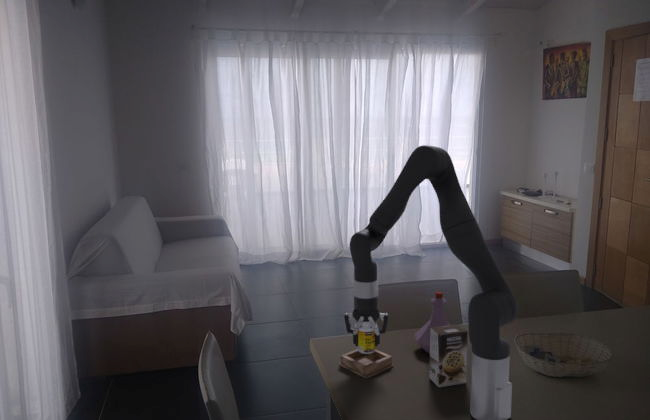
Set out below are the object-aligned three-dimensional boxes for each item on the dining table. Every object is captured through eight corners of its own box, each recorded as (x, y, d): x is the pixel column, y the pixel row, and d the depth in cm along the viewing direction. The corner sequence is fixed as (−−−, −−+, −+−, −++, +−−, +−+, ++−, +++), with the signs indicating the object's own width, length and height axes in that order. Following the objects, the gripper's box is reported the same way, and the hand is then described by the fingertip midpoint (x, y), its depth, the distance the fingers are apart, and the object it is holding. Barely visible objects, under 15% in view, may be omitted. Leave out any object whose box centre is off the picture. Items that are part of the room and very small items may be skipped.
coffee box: (438, 388, 147) (439, 335, 144) (428, 377, 153) (429, 326, 150) (467, 383, 149) (468, 331, 146) (455, 373, 155) (457, 323, 152)
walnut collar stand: (393, 366, 160) (393, 356, 160) (366, 378, 153) (366, 368, 152) (366, 354, 170) (366, 344, 169) (339, 365, 162) (339, 355, 161)
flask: (473, 355, 167) (475, 296, 164) (430, 364, 161) (431, 304, 158) (444, 336, 182) (445, 282, 179) (404, 344, 176) (404, 288, 173)
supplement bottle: (364, 356, 157) (364, 324, 155) (354, 350, 161) (353, 319, 160) (379, 351, 160) (378, 320, 158) (368, 345, 164) (367, 315, 163)
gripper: (388, 289, 160) (389, 340, 163) (343, 289, 162) (344, 339, 164) (389, 297, 153) (389, 350, 156) (341, 297, 154) (342, 350, 157)
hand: (366, 344), depth 160 cm, fingers closed on supplement bottle, 5 cm apart
